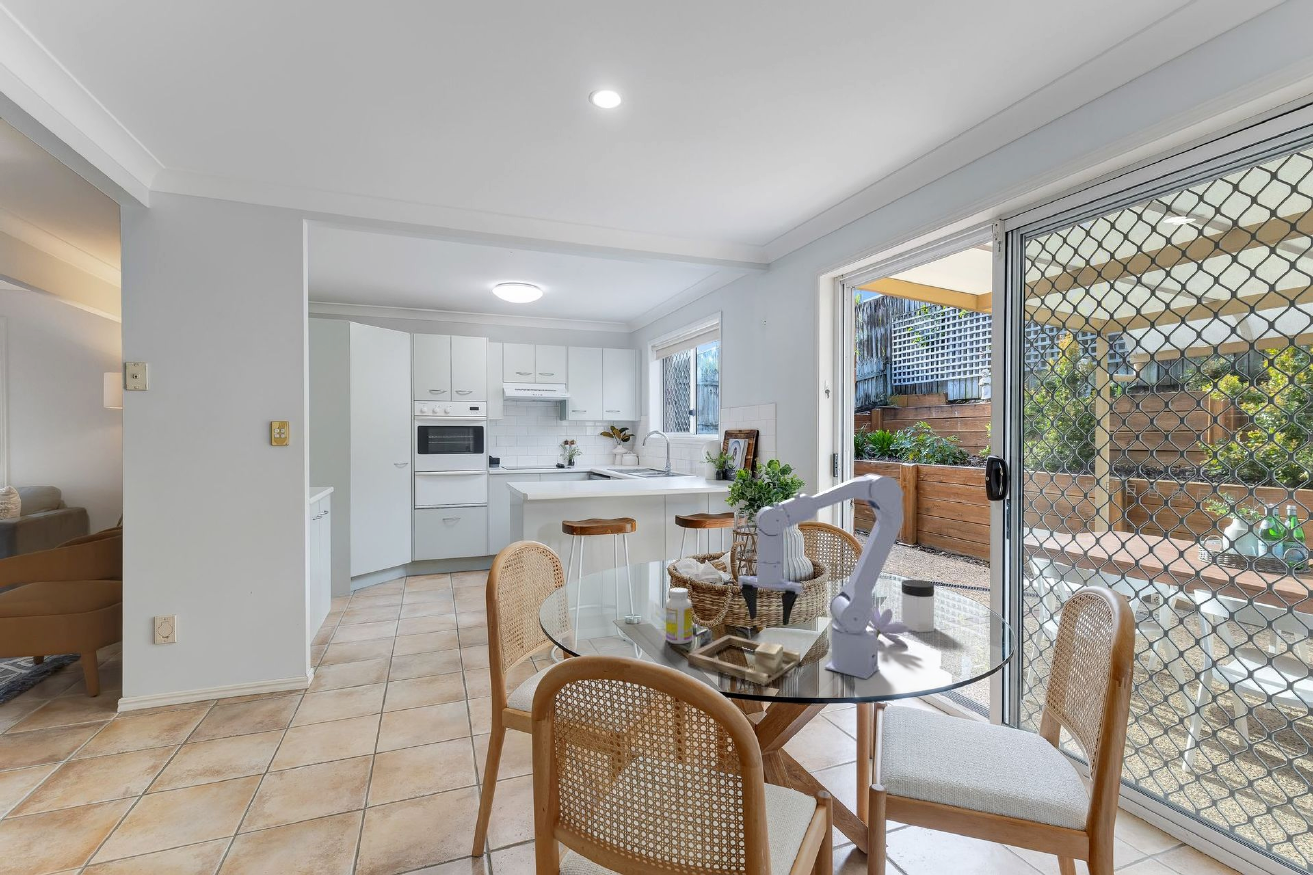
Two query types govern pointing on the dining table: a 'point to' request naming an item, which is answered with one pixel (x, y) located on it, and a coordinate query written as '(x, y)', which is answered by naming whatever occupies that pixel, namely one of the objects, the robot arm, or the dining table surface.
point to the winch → (703, 636)
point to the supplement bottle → (678, 617)
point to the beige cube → (768, 658)
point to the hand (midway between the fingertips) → (769, 621)
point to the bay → (703, 660)
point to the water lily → (886, 626)
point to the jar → (918, 605)
